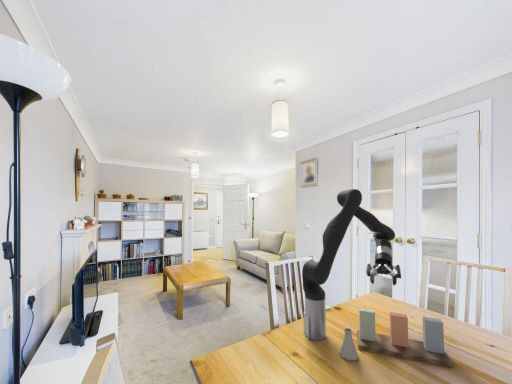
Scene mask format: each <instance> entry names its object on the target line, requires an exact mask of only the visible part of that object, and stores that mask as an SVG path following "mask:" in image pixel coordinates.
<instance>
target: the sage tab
mask: <svg viewBox="0 0 512 384" xmlns="http://www.w3.org/2000/svg"><path fill="white" fill-rule="evenodd" d="M358 312H359V313H358V315H359V316H358V321H359V331H360V339H363V340H369V341H374V342H376V335H375V333H376V312H375V310H374V309H371V308H363V307H359V309H358Z"/></svg>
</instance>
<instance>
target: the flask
mask: <svg viewBox="0 0 512 384" xmlns="http://www.w3.org/2000/svg"><path fill="white" fill-rule="evenodd" d="M343 331H344V338H343V340H342V344H341V347H340V349H339V352H338V353H339V355H340V357H341V358H343V359H344V360H347V361H351V362H352V361H357V360H358V358H359V354H358V352H357V349H356V346H355V343H354V340H353V329H352V328H349V327H344V328H343Z"/></svg>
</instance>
